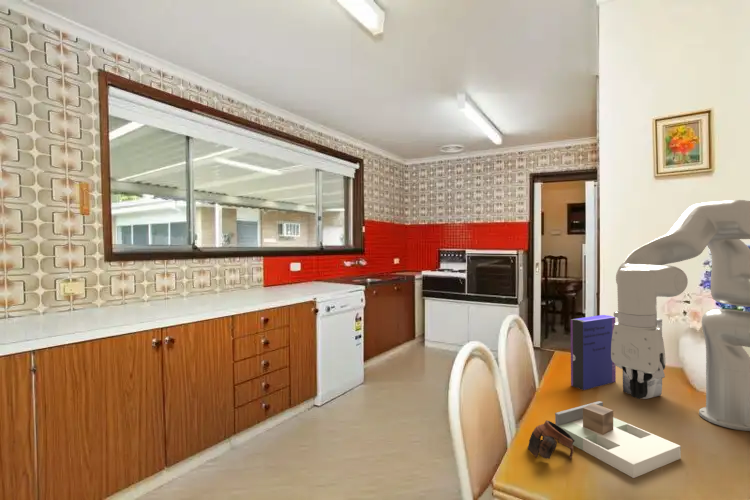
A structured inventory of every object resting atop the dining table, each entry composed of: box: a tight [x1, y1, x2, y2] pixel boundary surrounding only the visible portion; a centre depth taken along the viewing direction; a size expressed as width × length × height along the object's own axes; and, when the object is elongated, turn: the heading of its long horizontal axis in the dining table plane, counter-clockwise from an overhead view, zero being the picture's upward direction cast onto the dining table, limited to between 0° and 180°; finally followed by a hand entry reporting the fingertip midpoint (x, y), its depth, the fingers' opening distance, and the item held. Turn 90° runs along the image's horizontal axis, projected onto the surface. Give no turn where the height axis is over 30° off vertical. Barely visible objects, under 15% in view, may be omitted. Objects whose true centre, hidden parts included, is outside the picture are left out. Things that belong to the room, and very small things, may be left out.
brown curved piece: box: [527, 420, 575, 460], centre depth 90 cm, size 12×10×8 cm
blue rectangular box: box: [570, 314, 617, 391], centre depth 134 cm, size 17×5×24 cm, turn 115°
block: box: [583, 402, 614, 435], centre depth 96 cm, size 5×5×5 cm
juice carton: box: [622, 317, 663, 400], centre depth 125 cm, size 9×10×27 cm
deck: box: [554, 400, 682, 479], centre depth 93 cm, size 20×18×6 cm
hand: (638, 396), depth 88 cm, fingers closed
